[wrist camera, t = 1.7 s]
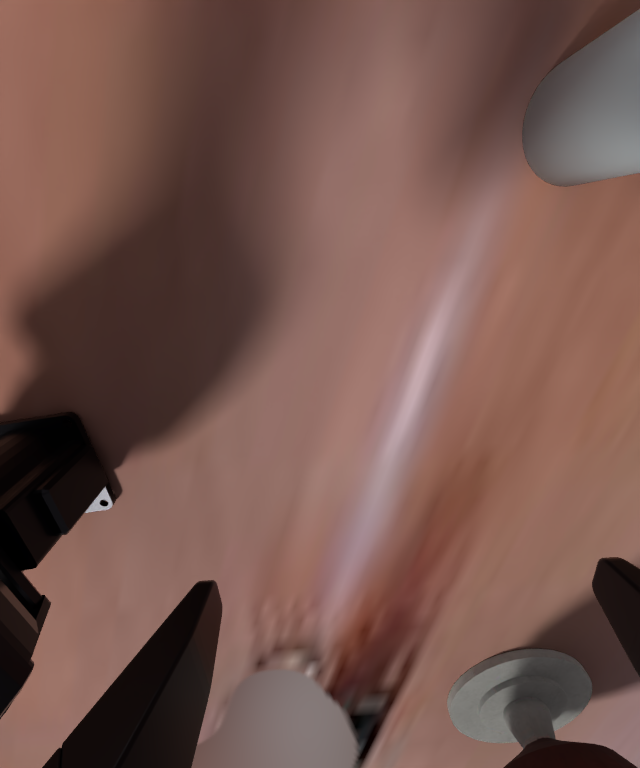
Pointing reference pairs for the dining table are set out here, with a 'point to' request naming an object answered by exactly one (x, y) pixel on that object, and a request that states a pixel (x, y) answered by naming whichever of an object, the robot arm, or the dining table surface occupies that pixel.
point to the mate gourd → (529, 708)
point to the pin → (588, 112)
